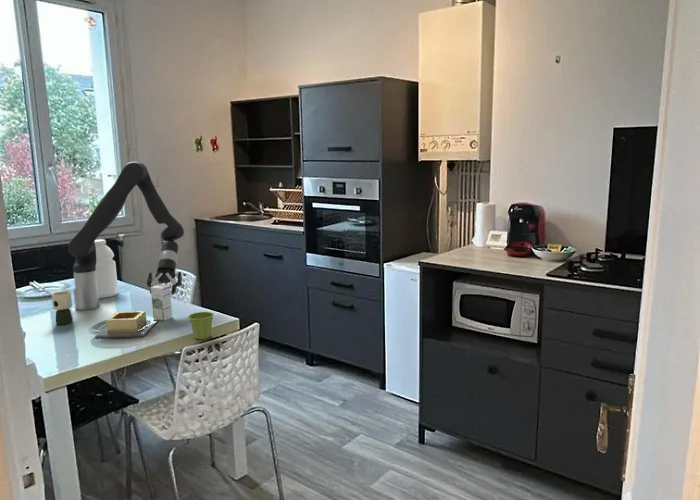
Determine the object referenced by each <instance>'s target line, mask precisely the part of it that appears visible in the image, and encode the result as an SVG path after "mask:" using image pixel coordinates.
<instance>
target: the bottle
mask: <svg viewBox="0 0 700 500" xmlns="http://www.w3.org/2000/svg"><path fill="white" fill-rule="evenodd" d="M94 242H95V246H96V277H97V287H98V297H99V299H104V298H105V299H106V298H110V297H114V296H117V295H118V294H119V287H118V276H117V266H116V265H117V264H116V261H115V260H114V259H113V258H114V257H115V254H114V250H112V249H111V247H109V246H108V245H107V240H106V239H104V238H103V239H96V240H95V241H94Z"/></svg>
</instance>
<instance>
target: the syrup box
mask: <svg viewBox="0 0 700 500" xmlns="http://www.w3.org/2000/svg"><path fill="white" fill-rule="evenodd" d="M150 296H151V304H152V305H151V306H152V315H153V318H154V319H157V321H162V322H165V321H168V320H171V318H173V310H172V308H173V307H172V299H171V298H172V294H171V285H170V284H161V283H160V284H158V285H155V286H153V287H151V293H150ZM154 319H153V320H154Z"/></svg>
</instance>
